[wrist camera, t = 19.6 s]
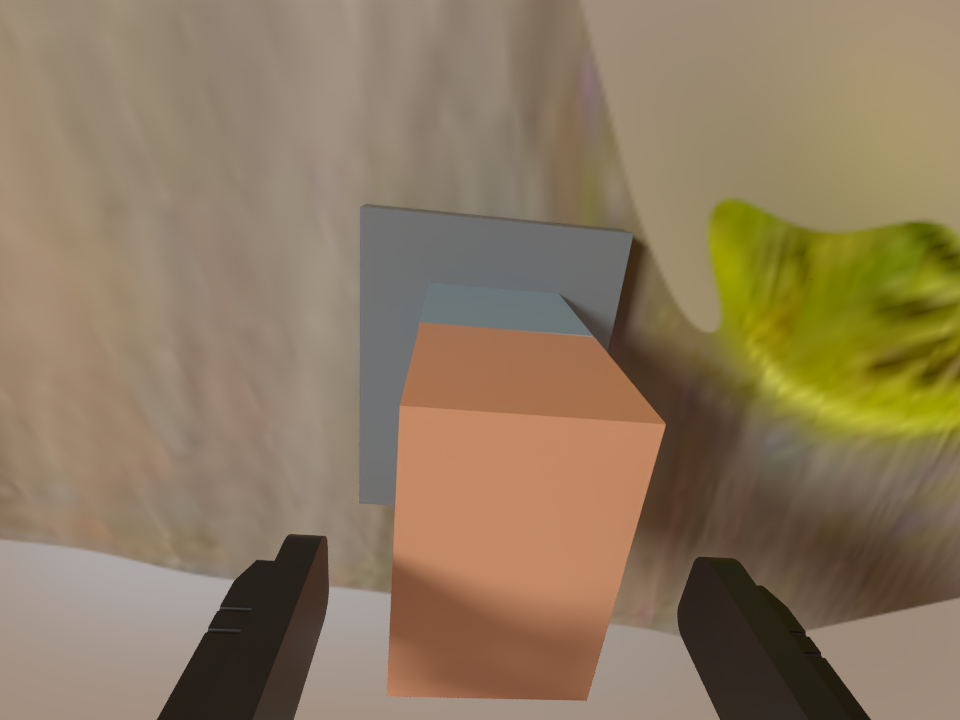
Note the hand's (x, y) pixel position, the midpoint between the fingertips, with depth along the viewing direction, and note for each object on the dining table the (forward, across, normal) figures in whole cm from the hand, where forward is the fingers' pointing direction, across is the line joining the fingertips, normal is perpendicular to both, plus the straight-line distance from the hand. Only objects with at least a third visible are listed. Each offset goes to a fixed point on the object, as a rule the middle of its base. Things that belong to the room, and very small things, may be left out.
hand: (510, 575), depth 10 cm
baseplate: (+11, 0, 0) cm, 11 cm away
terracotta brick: (+5, 0, 0) cm, 5 cm away
